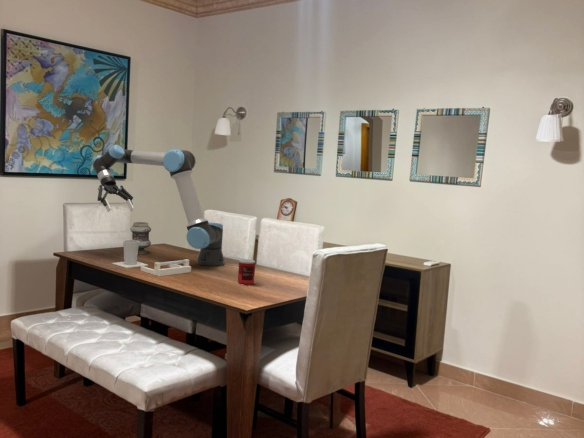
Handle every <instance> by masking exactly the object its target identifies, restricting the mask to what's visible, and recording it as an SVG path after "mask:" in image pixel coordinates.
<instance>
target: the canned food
mask: <svg viewBox="0 0 584 438" xmlns="http://www.w3.org/2000/svg"><path fill="white" fill-rule="evenodd" d="M255 272H256V260H254V259H249V258H248V259H247V258H246V259H245V258H244V259H243V258H242V259H239V260H238V271H237V273H238V274H237V275H238V276H237V282H238V284H239V285H241V284H244V285H243V286H251V285H250V284H253V285H254V283H255V274H256V273H255Z"/></svg>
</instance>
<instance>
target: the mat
mask: <svg viewBox="0 0 584 438" xmlns="http://www.w3.org/2000/svg"><path fill="white" fill-rule="evenodd" d="M112 265H115V266H119V267H122V268H125V269H130V268H132V269H133V268H139V267H140V268H141V266H144V267H148V266H149V264H147V263H144V262H141V261H137V264H136V265H126V264H124V261H120V262H119V261H118V262H112Z"/></svg>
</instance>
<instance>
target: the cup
mask: <svg viewBox="0 0 584 438" xmlns="http://www.w3.org/2000/svg"><path fill="white" fill-rule="evenodd" d="M122 244H123V260H124V261H123V262H124V264H126V265H136V264H137V262H138V255H139V254H138V247H139V241H137V240H132V239H124V240H123V243H122Z"/></svg>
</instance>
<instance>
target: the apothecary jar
mask: <svg viewBox="0 0 584 438" xmlns="http://www.w3.org/2000/svg"><path fill="white" fill-rule="evenodd" d="M129 231H130V232H132V233H131V240H137V241H139V247H138V255H146V254H149V250H145V249H146V248H149V247H151V245H152V242H151V240H150V238H149V237H150V232H151V231H152V228H151V227H150V226H149V222H145V221H144V222H143V221H135V222H133V223H132V226H131V227H130V230H129Z"/></svg>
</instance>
